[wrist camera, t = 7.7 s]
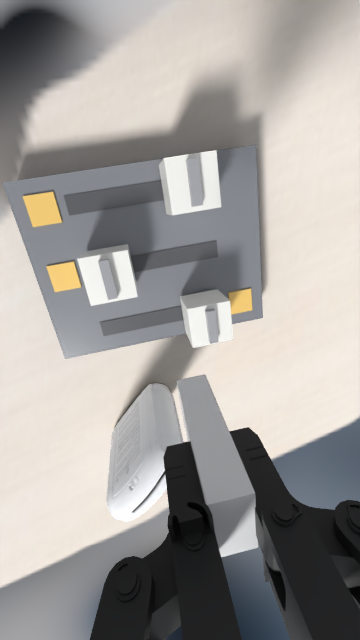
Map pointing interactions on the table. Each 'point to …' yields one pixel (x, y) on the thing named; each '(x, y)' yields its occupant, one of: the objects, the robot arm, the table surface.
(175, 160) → the slider
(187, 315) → the slider
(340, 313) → the table surface
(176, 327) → the console
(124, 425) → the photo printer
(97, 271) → the slider mid
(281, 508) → the robot arm
